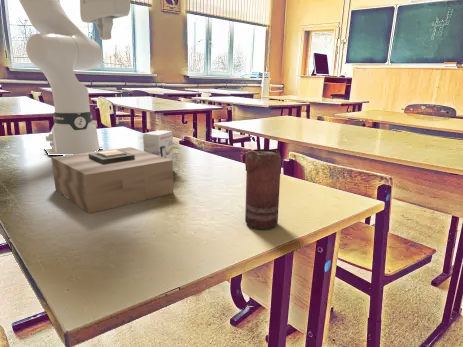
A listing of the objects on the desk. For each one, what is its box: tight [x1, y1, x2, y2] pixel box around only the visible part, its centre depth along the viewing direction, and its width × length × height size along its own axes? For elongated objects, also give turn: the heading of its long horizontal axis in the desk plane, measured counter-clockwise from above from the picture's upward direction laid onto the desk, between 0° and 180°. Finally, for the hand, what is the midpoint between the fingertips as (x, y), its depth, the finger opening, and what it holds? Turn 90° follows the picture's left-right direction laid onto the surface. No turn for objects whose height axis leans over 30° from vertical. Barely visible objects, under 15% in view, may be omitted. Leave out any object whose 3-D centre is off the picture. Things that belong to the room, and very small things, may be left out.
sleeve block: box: [51, 146, 174, 214], centre depth 84 cm, size 20×20×9 cm
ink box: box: [142, 129, 175, 172], centre depth 100 cm, size 9×5×12 cm, turn 162°
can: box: [244, 148, 282, 231], centre depth 66 cm, size 6×6×14 cm
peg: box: [98, 149, 125, 158], centre depth 84 cm, size 4×4×9 cm
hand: (105, 39), depth 89 cm, fingers closed
